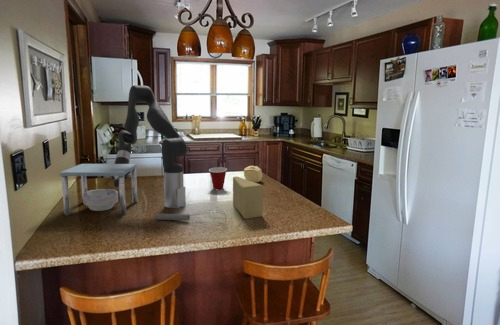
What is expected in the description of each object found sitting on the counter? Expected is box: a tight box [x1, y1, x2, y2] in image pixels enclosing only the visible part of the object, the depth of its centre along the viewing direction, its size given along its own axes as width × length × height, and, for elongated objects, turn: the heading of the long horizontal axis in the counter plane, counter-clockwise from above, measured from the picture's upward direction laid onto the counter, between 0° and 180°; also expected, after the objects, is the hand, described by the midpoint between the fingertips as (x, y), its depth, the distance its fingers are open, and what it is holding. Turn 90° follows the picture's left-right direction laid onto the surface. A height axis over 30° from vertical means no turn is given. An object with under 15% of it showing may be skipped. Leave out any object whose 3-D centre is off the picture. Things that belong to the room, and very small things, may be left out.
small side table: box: [59, 163, 138, 216], centre depth 162 cm, size 22×27×20 cm
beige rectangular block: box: [232, 176, 264, 220], centre depth 160 cm, size 22×10×15 cm, turn 26°
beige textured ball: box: [243, 165, 263, 184], centre depth 222 cm, size 11×12×11 cm
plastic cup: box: [208, 166, 228, 190], centre depth 203 cm, size 11×11×12 cm
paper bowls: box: [82, 188, 119, 212], centre depth 162 cm, size 15×15×8 cm
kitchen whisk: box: [152, 209, 228, 226], centre depth 145 cm, size 6×34×6 cm, turn 78°
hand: (116, 186), depth 182 cm, fingers closed
